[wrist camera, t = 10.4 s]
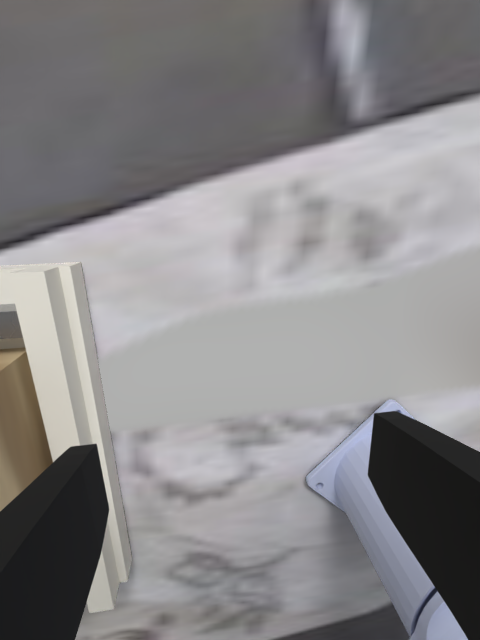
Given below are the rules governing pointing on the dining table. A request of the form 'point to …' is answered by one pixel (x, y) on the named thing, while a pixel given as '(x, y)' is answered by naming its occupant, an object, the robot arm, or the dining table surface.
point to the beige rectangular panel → (19, 427)
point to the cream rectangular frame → (67, 389)
